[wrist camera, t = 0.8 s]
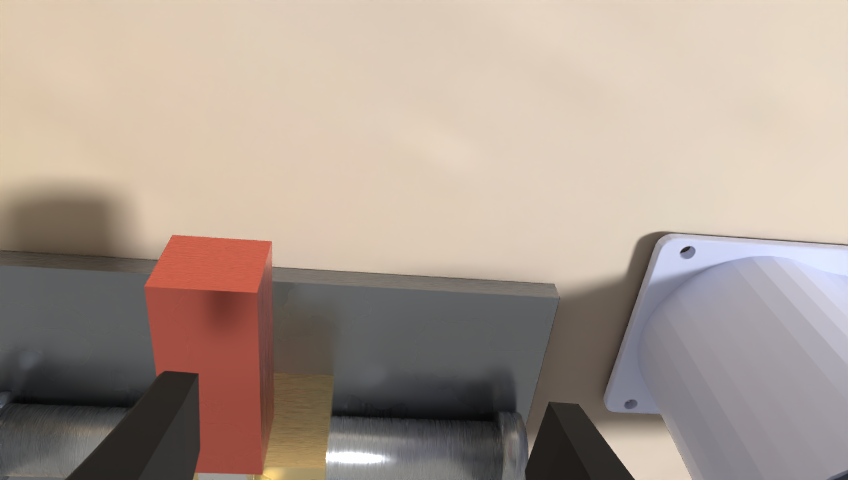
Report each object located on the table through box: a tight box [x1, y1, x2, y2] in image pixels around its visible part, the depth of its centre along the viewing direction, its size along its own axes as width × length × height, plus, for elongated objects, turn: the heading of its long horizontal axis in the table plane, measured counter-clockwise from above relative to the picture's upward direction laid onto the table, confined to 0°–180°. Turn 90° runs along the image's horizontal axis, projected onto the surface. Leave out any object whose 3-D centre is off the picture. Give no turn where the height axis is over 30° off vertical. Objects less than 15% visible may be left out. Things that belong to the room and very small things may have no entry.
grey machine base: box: [0, 251, 560, 480], centre depth 23 cm, size 20×13×5 cm, turn 84°
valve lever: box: [144, 235, 274, 480], centre depth 17 cm, size 12×3×2 cm, turn 174°
